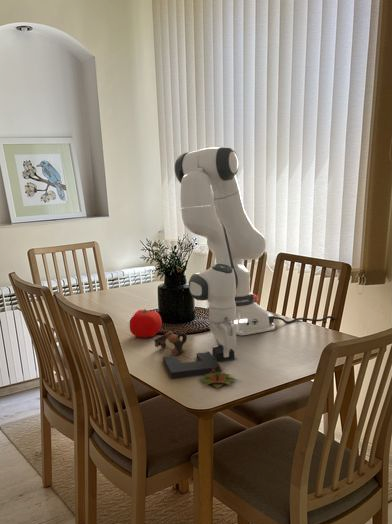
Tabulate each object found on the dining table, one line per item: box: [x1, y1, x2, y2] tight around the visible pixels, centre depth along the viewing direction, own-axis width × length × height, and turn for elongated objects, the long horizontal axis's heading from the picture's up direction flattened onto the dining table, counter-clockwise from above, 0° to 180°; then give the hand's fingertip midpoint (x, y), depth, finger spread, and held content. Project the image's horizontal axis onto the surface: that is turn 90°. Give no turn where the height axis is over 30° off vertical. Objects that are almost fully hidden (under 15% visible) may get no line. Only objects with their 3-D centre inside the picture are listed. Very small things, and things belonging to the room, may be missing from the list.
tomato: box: [129, 308, 163, 339], centre depth 208 cm, size 11×13×10 cm
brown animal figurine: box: [153, 330, 188, 356], centre depth 194 cm, size 12×10×8 cm
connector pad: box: [211, 346, 235, 362], centre depth 186 cm, size 6×6×3 cm
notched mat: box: [162, 351, 222, 379], centre depth 179 cm, size 16×14×2 cm
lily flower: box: [197, 366, 239, 389], centre depth 167 cm, size 12×12×5 cm
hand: (222, 352), depth 186 cm, fingers closed on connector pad, 6 cm apart
